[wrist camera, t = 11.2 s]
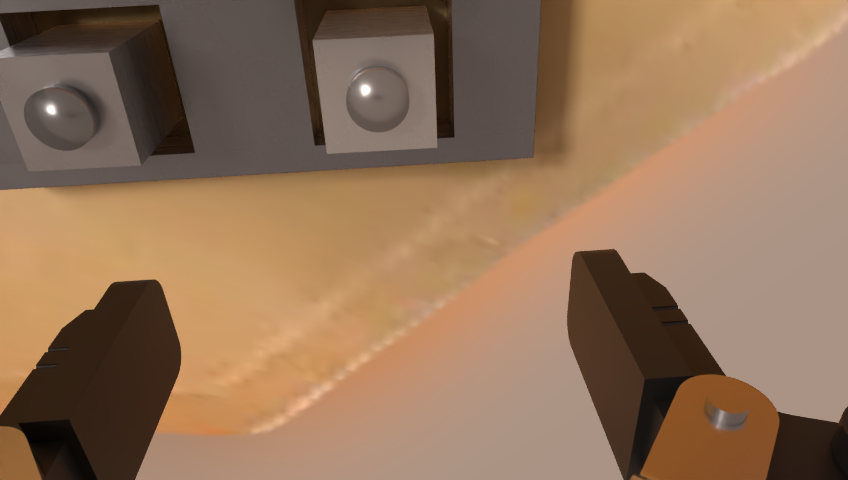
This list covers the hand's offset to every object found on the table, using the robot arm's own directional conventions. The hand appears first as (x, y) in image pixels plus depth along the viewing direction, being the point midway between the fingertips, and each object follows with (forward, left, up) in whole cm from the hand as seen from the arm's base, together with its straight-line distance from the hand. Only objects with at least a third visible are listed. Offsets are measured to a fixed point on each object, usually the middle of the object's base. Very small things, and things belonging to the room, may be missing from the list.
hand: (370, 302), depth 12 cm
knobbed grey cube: (0, -12, -20) cm, 23 cm away
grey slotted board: (0, -6, -20) cm, 21 cm away
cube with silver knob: (0, 0, -20) cm, 20 cm away
